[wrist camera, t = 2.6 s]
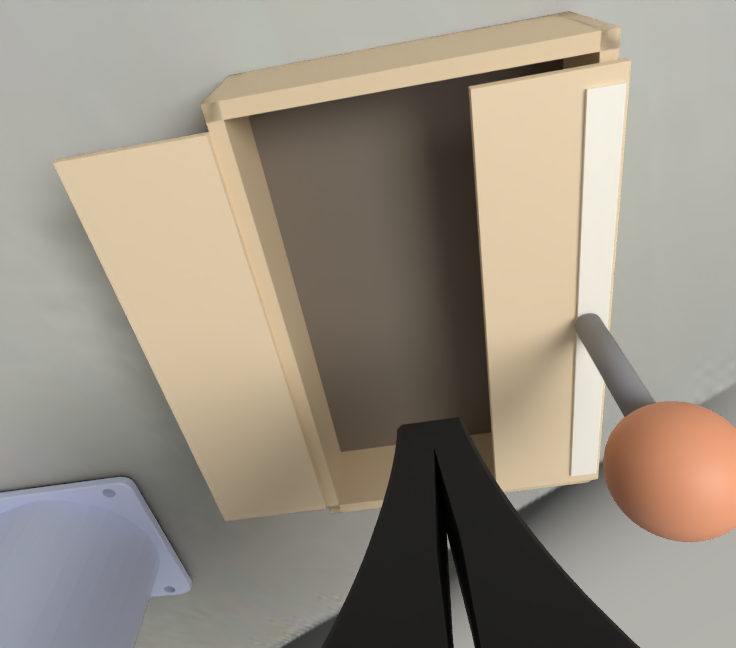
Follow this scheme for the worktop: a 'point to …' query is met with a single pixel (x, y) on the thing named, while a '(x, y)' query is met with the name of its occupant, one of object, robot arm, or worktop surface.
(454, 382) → the carton
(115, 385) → the worktop surface
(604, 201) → the flap
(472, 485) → the robot arm
